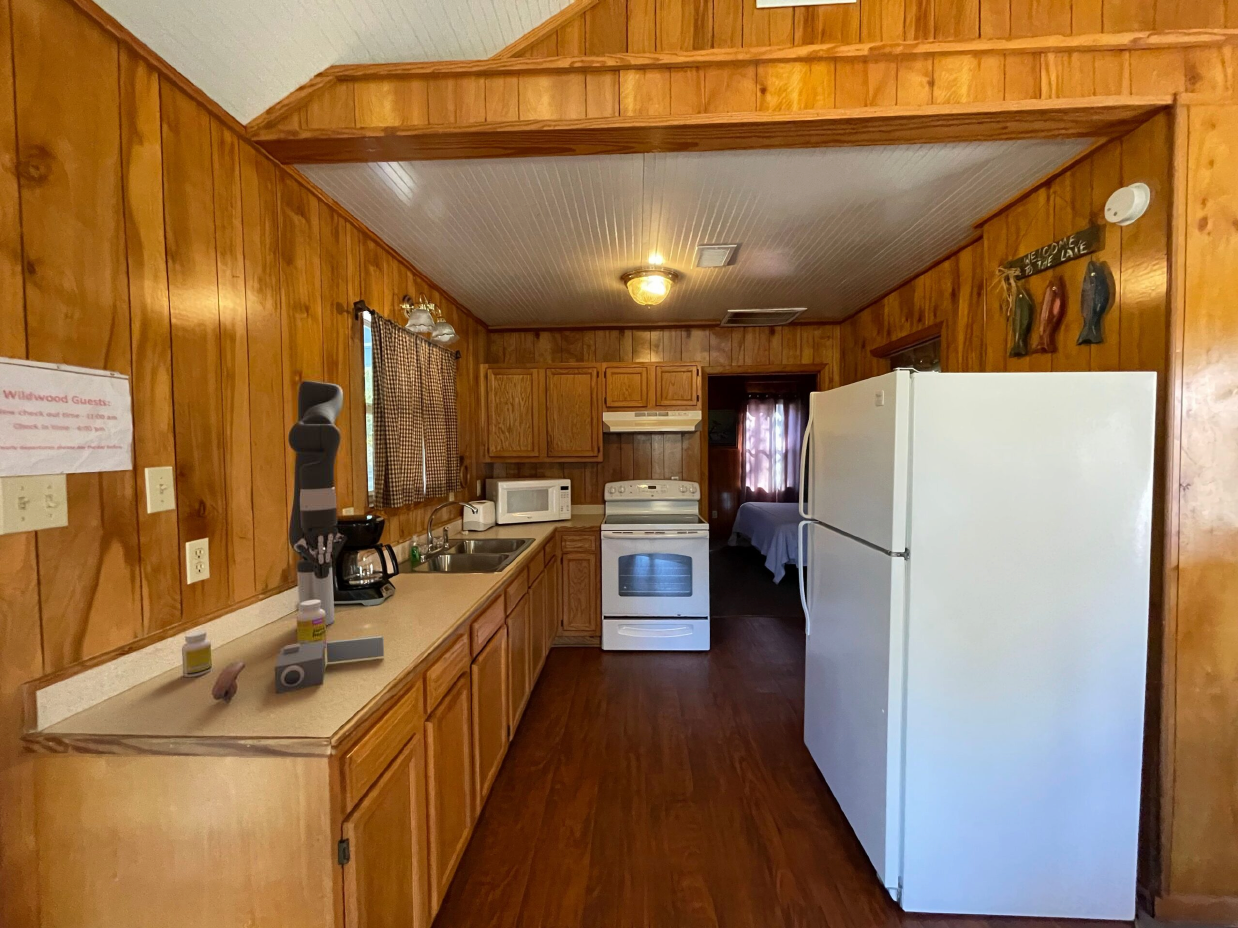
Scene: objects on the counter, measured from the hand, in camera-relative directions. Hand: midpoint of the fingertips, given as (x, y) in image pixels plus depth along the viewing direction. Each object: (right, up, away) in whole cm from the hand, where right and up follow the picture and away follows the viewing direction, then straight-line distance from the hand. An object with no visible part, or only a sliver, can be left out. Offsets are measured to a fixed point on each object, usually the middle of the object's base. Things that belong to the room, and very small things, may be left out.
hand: (322, 577), depth 121 cm
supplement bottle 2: (-11, -23, +15) cm, 30 cm away
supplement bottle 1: (-32, -24, +2) cm, 40 cm away
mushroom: (-13, -24, -13) cm, 30 cm away
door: (+5, -22, +7) cm, 24 cm away
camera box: (-3, -23, -2) cm, 24 cm away
